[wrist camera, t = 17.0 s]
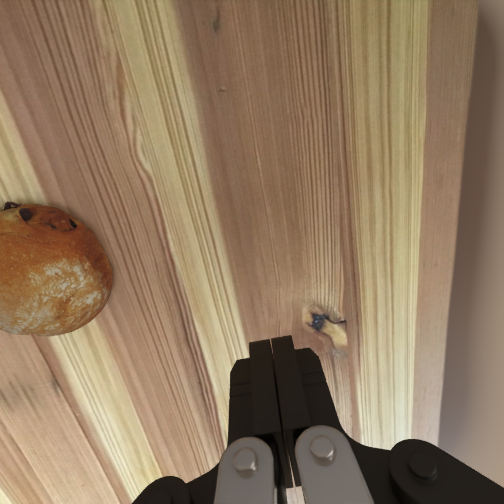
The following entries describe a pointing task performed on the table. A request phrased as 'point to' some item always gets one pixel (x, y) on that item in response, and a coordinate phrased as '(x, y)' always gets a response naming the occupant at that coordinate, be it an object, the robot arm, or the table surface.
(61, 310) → the bread roll
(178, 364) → the table surface
